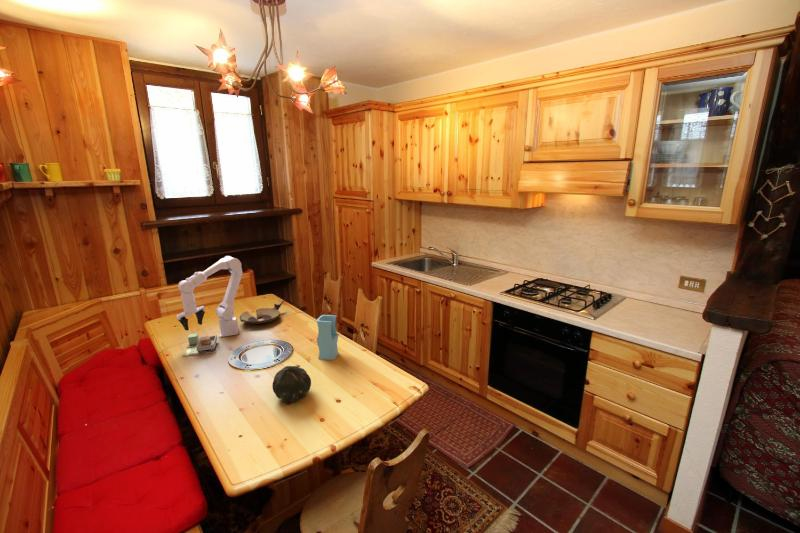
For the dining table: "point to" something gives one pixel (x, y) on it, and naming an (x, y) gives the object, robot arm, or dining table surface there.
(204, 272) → the robot arm
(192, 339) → the green block
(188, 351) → the rails
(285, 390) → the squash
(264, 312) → the broken bowl
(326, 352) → the vase
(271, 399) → the dining table surface
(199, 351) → the grey shallow tray
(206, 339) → the copper block
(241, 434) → the dining table surface
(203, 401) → the dining table surface
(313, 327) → the dining table surface
